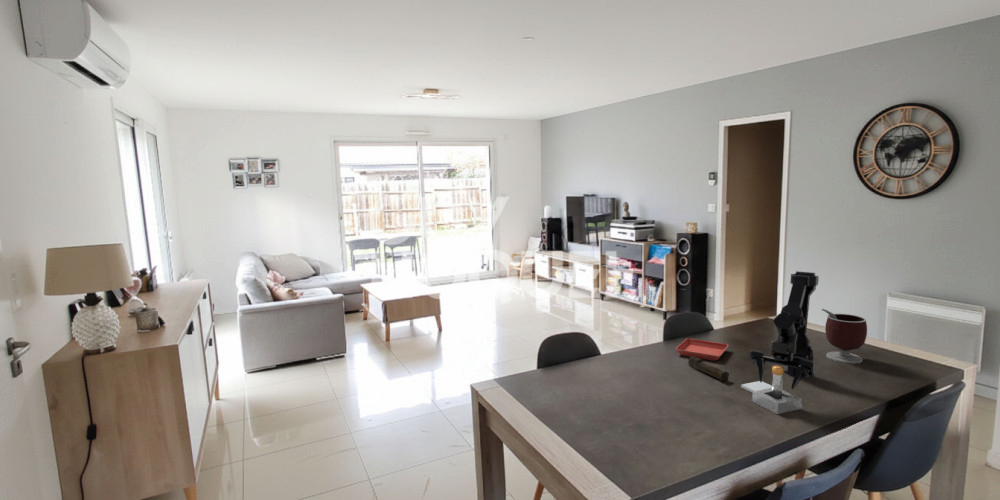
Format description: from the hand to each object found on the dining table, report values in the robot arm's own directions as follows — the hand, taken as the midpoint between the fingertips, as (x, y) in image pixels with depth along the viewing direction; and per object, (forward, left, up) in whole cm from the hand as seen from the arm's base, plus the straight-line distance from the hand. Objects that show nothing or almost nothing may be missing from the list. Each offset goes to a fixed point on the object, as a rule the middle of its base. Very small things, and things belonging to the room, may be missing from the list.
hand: (776, 385), depth 161 cm
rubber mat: (-6, -12, -7) cm, 15 cm away
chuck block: (-1, -1, -7) cm, 7 cm away
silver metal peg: (-1, -1, -7) cm, 7 cm away
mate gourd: (-61, -24, -7) cm, 66 cm away
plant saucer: (-14, -51, -8) cm, 53 cm away
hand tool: (+1, -32, -8) cm, 33 cm away
